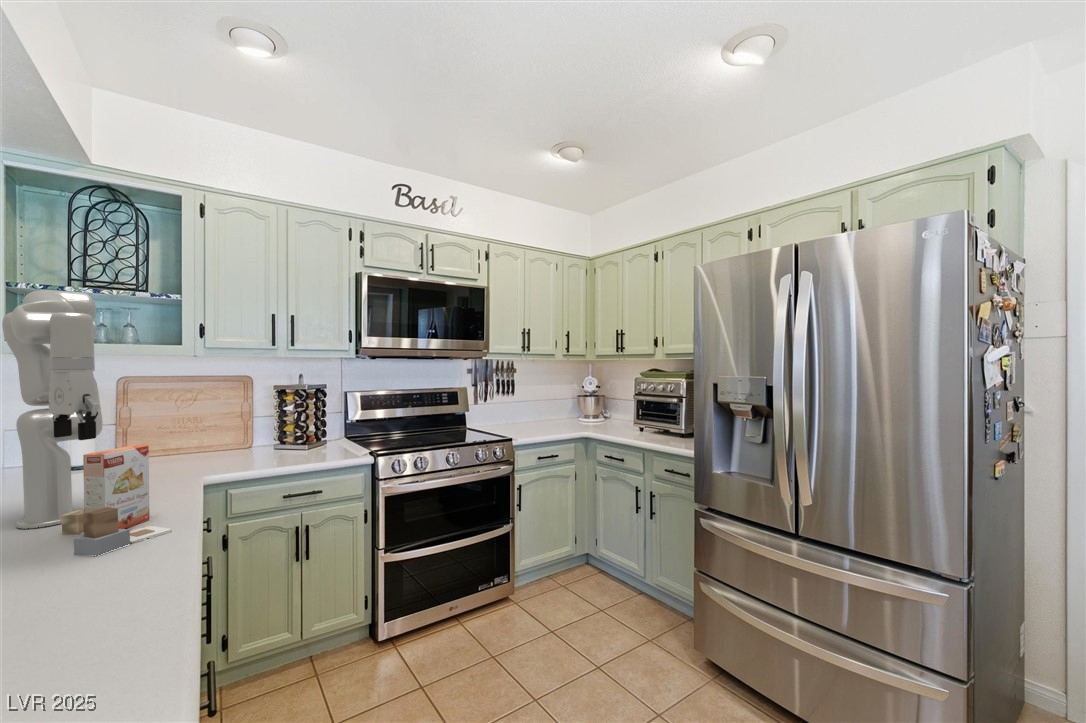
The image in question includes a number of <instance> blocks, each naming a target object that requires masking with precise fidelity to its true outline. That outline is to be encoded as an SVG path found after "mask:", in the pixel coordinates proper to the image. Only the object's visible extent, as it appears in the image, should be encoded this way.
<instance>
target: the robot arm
mask: <svg viewBox="0 0 1086 723" xmlns="http://www.w3.org/2000/svg"><path fill="white" fill-rule="evenodd" d="M96 314H97V305H96V302H95V300H94V299H93V297H92V296H90V295H89V294H88V293H86V292H82V291H68V290H64V291H63V290H54V289H53V290H51V289H39V290H34V291H31V292H29V293H27V294H26V295H25V296H24V297H23V300H22V303H21V304H20V305H17V306H16V307H15V308H13V311H11V312H8V313H6V314H5V315H4V317H3V319H2V322H1V324H2V325H1V326H2V332H3V336H4V340H5V342H6V343H7V346H8V348H9V349H10V351H11V352H12V354H13V355H14V358H15V359H16V362H17V369H18V370H17V372H18V379H19V380H18V381H19V388H20V395H21V399H22V401H23V403H25V404H26V405H28V406H31V407H32V406H33V407H48V408H38V409H37V408H36V409H31V410H29V411H28V410H27V411H26V412H23V413H21V414H20V415H19V416H18V417H17V419H16V424H15V425H16V431H17V432H16V433H17V435H18V440H19V443H20V449H21V460H22V484H23V486H22V487H23V488H22V489H23V512H24V514H23V515H24V516H23V517H24V519H21V520H18V521H17V522H16V528H17V529H20V528H21V529H22V530H23V529H24V530H25V529H26V530H27V529H28V528H29V529H39V528H45V526H46V527H51V526H56V525H60V524H61V525H62V519H61V515H64V514H67V513H70V512H74V511H75V510H73V490H72V489H73V488H72V485H73V484H72V462H71V455H70V453H69V452H68V451H67V450H65V449H64V447H61V446H59V445H58V443H59V442H65V441H66V442H67V441H77V440H78V441H86V440H94V439H96V438H97V436H100V435H101V433H102V430H103V425H104V423H103V415H102V407H101V402H100V393H99V387H98V383H97V381H96V378H95V376H94V372H96V371H95V367H96V365H95V364H96V363H95V362H96V361H95V338H96V336H97V325H96V322H95V318H96ZM46 345H49V347H48V346H46ZM38 527H39V528H38Z"/></svg>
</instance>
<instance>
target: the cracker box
mask: <svg viewBox="0 0 1086 723" xmlns="http://www.w3.org/2000/svg"><path fill="white" fill-rule="evenodd" d="M82 456H83V457H82V459H83V460H82V461H83V506H84V507H83V510H84V512H87V511H91V510H95V509H99V508H104V507H111V508H118V529H125V528H126V529H128V528H131V527H133V526H136V525H138V524H141V523H144V522H145V521H146V522H147V521H149V520H150V519H151V518H150V517H151V516H150V515H151V514H150V465H149V464H150V460H149V459H150V454H149V445H145V444H144V445H143V444H142V445H139V444H138V445H126V446H123V447H121V446H120V447H116V448H111V449H107V450H106V449H105V450H100V451H95V452H90V453H85V454H83V455H82Z"/></svg>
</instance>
